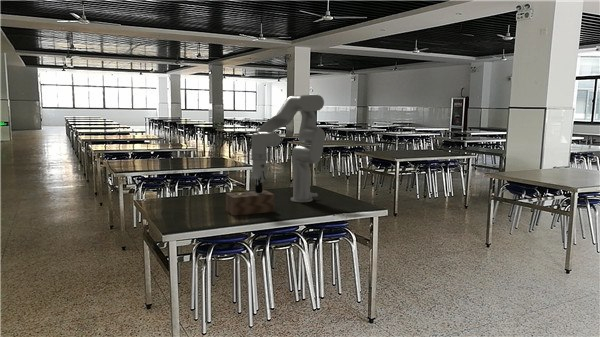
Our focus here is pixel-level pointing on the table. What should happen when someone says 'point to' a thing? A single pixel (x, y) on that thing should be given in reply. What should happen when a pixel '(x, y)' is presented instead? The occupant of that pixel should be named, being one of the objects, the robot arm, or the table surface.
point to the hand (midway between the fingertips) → (258, 192)
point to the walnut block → (249, 203)
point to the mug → (238, 191)
